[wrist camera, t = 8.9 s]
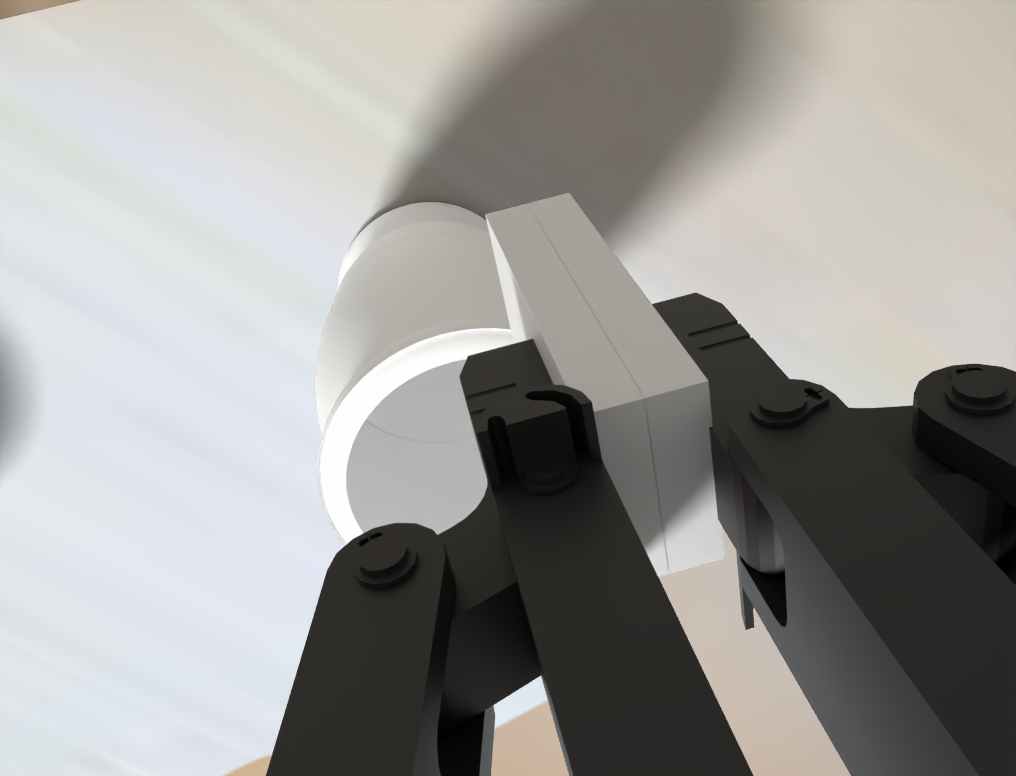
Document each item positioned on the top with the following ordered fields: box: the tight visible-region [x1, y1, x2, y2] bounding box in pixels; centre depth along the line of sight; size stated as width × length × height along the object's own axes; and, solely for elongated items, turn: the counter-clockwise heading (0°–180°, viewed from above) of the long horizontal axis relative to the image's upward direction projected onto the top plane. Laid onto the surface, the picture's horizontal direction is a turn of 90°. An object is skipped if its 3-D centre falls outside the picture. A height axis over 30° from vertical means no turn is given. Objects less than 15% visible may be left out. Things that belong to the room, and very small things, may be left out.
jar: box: [316, 202, 514, 546], centre depth 36 cm, size 11×10×15 cm
